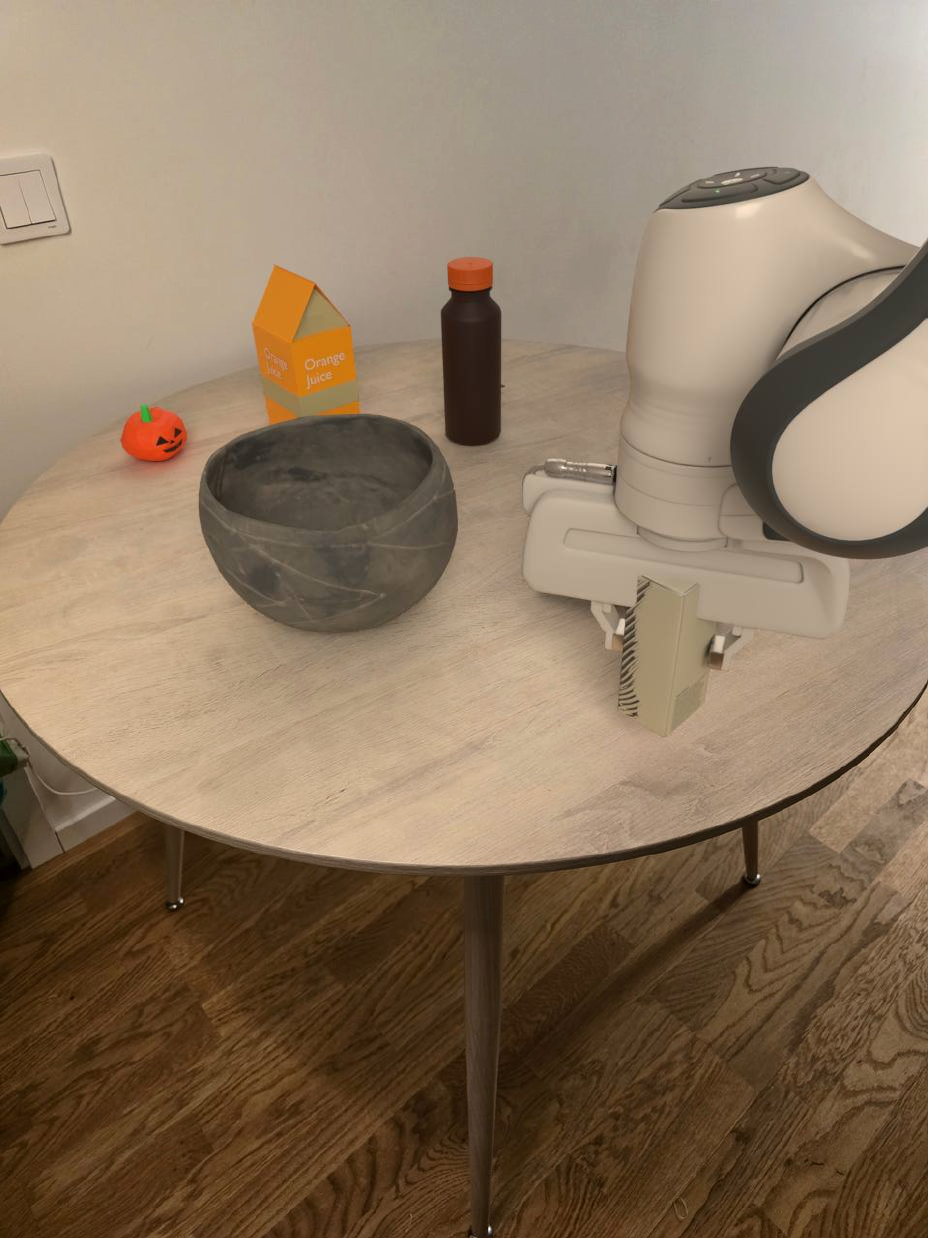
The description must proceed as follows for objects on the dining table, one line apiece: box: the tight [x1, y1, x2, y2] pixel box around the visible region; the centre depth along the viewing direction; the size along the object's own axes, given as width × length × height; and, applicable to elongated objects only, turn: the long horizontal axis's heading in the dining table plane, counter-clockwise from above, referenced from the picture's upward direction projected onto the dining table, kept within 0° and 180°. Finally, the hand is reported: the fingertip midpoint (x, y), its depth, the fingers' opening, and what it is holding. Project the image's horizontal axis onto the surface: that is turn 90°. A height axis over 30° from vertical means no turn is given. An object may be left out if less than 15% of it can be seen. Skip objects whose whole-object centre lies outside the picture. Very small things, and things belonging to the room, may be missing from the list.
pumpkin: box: [120, 403, 188, 462], centre depth 101 cm, size 7×8×6 cm
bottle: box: [440, 256, 502, 447], centre depth 99 cm, size 7×7×20 cm
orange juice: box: [251, 264, 361, 426], centre depth 98 cm, size 8×9×20 cm
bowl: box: [198, 413, 459, 633], centre depth 74 cm, size 21×21×15 cm
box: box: [617, 575, 719, 738], centre depth 58 cm, size 5×4×13 cm
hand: (667, 655), depth 59 cm, fingers closed on box, 5 cm apart
